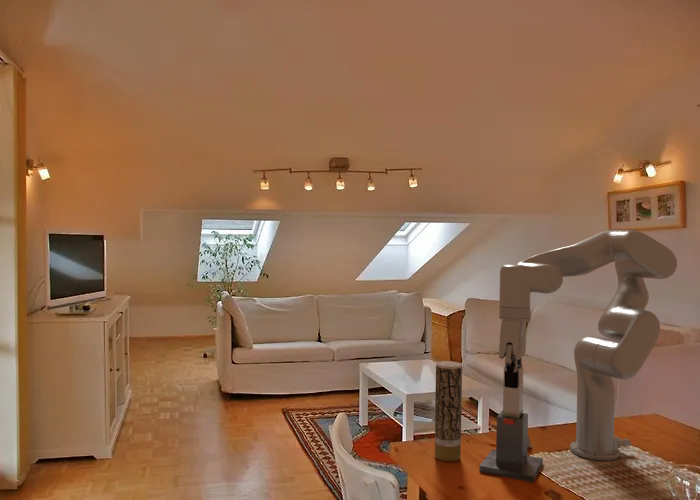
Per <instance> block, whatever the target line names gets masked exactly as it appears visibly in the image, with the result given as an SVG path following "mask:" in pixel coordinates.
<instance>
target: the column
mask: <svg viewBox="0 0 700 500" xmlns="http://www.w3.org/2000/svg"><path fill="white" fill-rule="evenodd" d="M517 372H518V388H508V387H505V386H504V383H505V365H504V366H503V382H502V383H503V388H502V389H503V390H502V393H503V394H502V395H503V396H502V397H503V398H502V410H503V411H502V410H501V412H502V416H503V417H509V418H516V419H521V418H522V415H523V413H524V409H523V407H524V406H523V402H524V401H523V400H524V398H523V397H524V395H523V393H524V365H523V364H522V365H517Z"/></svg>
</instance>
